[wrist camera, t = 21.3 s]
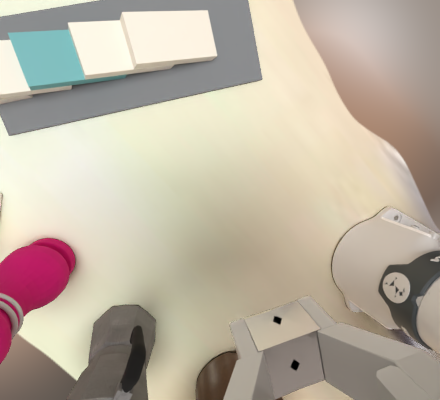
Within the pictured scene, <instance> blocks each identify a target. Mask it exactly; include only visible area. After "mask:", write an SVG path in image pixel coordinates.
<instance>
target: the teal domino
mask: <svg viewBox="0 0 440 400" xmlns="http://www.w3.org/2000/svg"><path fill="white" fill-rule="evenodd" d="M8 35H9V38H10V40H11V43H12V45H13V48H14V51H15V53H16V56H17V58H18V61H19V64H20V66H21V69H22V71H23V74H24V76H25V79H26V82H27V84H28V87H29V88H30V90H31V91H32V90H39V89H47V88H55V87H62V86H70V85H78V84H85V83H93V82H101V81H108V80H116V79H124V78H125V77H126V75H127V74H126V75H118V76H110V77H102V78H94V79H86V80H85V77H84V74H83V71H82V68H81V65H80V62H79V59H78V56H77V53H76V50H75V47H74V44H73V41H72V38H71V35H70V33H69V30H52V31H33V32H14V33H8Z"/></svg>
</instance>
